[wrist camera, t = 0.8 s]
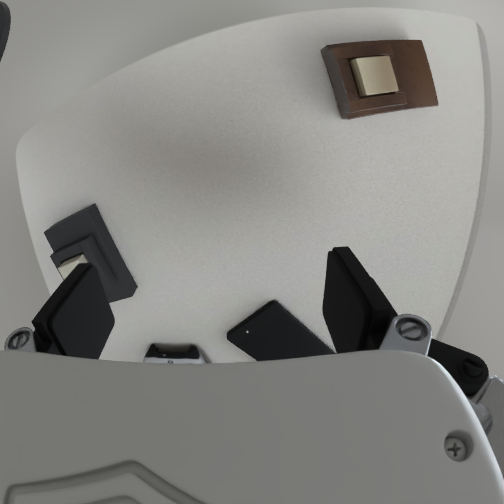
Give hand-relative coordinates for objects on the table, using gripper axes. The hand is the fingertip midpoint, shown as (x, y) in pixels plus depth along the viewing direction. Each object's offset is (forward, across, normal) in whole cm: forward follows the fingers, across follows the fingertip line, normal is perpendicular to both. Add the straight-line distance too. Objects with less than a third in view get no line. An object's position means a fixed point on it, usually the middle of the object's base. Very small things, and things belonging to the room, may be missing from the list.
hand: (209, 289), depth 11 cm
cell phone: (+21, -7, +25) cm, 33 cm away
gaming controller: (+21, +10, +27) cm, 35 cm away
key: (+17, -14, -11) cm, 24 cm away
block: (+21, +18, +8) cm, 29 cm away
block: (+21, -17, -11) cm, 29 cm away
